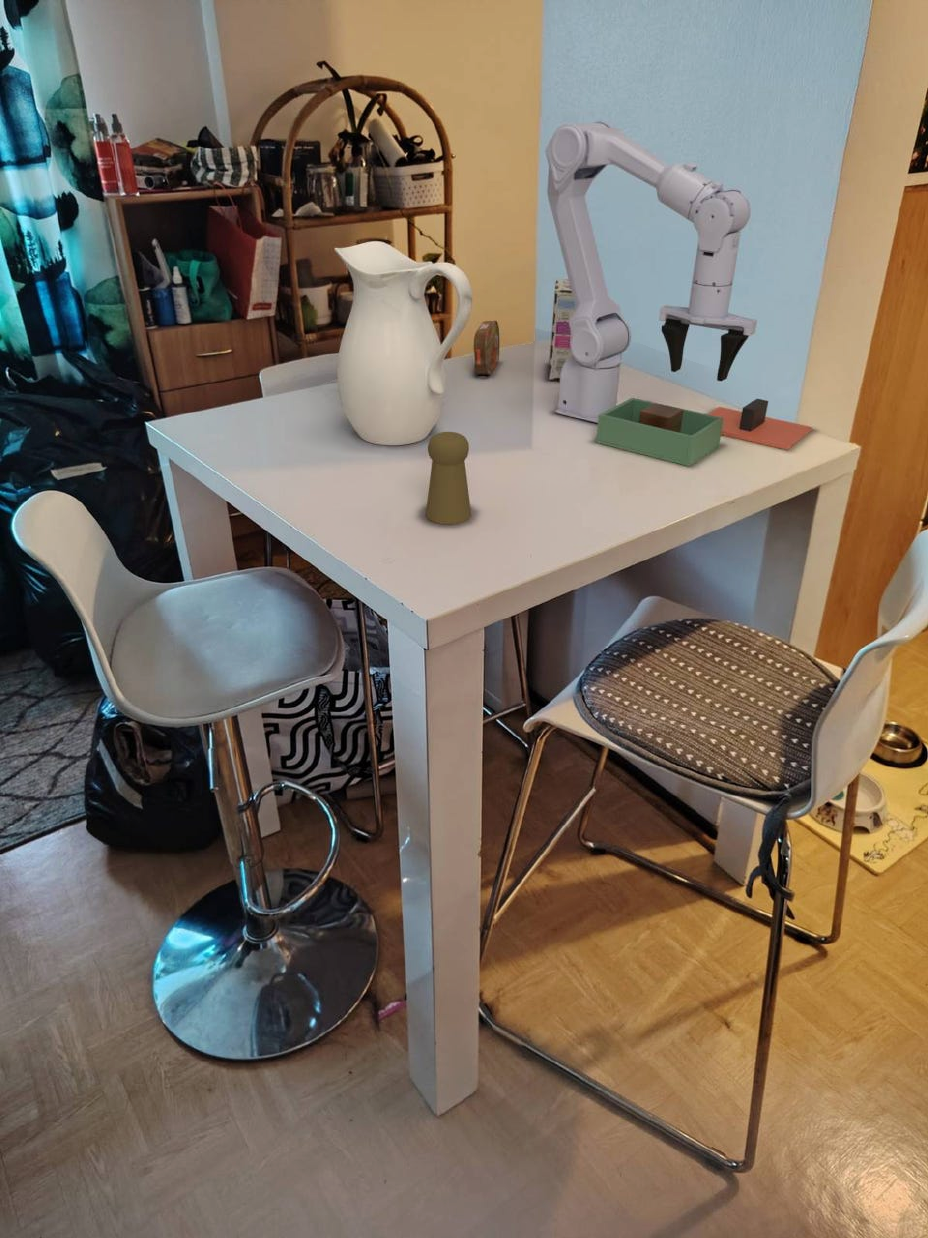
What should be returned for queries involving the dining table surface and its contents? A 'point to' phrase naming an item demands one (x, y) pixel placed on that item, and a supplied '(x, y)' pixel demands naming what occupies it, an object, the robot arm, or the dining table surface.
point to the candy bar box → (561, 328)
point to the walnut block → (662, 417)
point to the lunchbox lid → (760, 426)
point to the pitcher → (394, 344)
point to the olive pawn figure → (448, 479)
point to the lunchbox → (659, 433)
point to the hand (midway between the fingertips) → (698, 374)
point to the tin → (486, 347)
